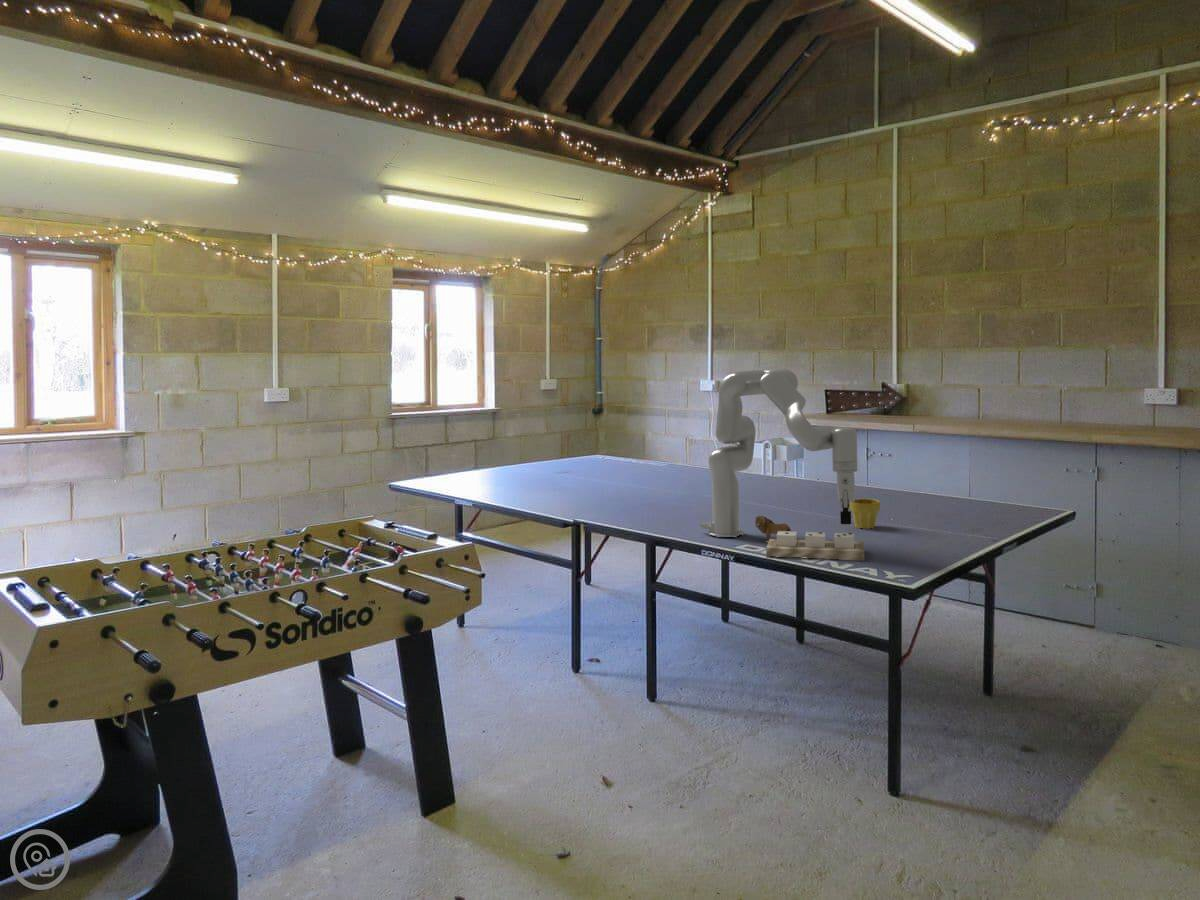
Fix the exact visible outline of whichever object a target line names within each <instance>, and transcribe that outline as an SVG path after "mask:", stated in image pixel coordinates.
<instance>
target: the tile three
mask: <svg viewBox="0 0 1200 900" xmlns="http://www.w3.org/2000/svg"><path fill="white" fill-rule="evenodd" d="M833 541H834V548H852V549H854V542H855V533H853V532H852V533H851V532H834V539H833Z"/></svg>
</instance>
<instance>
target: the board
mask: <svg viewBox="0 0 1200 900" xmlns="http://www.w3.org/2000/svg"><path fill="white" fill-rule="evenodd" d="M864 543H865V542H864V541H854V549H852V548H834V540H825V548H822V547H805V539H797V545H796V547H793V546H777V538H770V540H769V542H767V545H766V547H765V551H766V553H765V554H766V555H767V556H779V557H807V558H827V559H826V560H830V559H839V560H838V561H857V562H858V561H859V562H860V561H863V562H865V545H864ZM766 555H765V556H766Z"/></svg>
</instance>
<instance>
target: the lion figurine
mask: <svg viewBox="0 0 1200 900" xmlns="http://www.w3.org/2000/svg"><path fill="white" fill-rule="evenodd" d="M754 526H755V528H756V529H757V530H759V531H760V532H761V533H762V534H764V535H765V537H766V539H767V540H766V539H765V541H769V540H770V539H771V535H772V534H773V535H777V533H778V531H791V532H792V529H791V527H790V525H788V524H786V523H775V522H774V521H772V520H771V519H769V518H767V517H766V516H763V515H758V516H756V517H755V521H754Z"/></svg>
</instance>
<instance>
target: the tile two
mask: <svg viewBox="0 0 1200 900" xmlns="http://www.w3.org/2000/svg"><path fill="white" fill-rule="evenodd" d="M804 536H805V537H804V540H805V547H822V548H825V541H826V532H824V531H823V532H822V531H821V532H820V531H817V532H815V531H805V535H804Z"/></svg>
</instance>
